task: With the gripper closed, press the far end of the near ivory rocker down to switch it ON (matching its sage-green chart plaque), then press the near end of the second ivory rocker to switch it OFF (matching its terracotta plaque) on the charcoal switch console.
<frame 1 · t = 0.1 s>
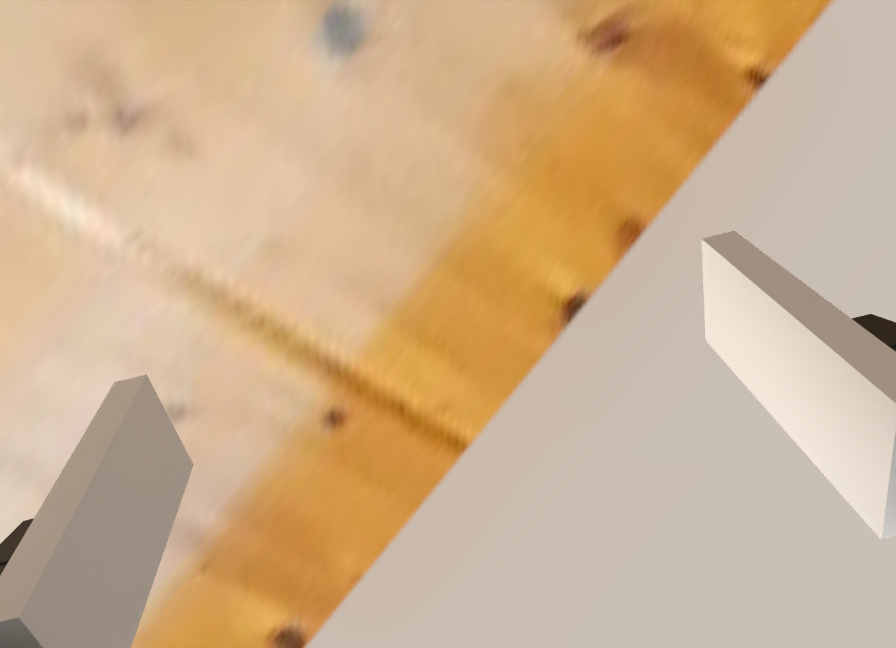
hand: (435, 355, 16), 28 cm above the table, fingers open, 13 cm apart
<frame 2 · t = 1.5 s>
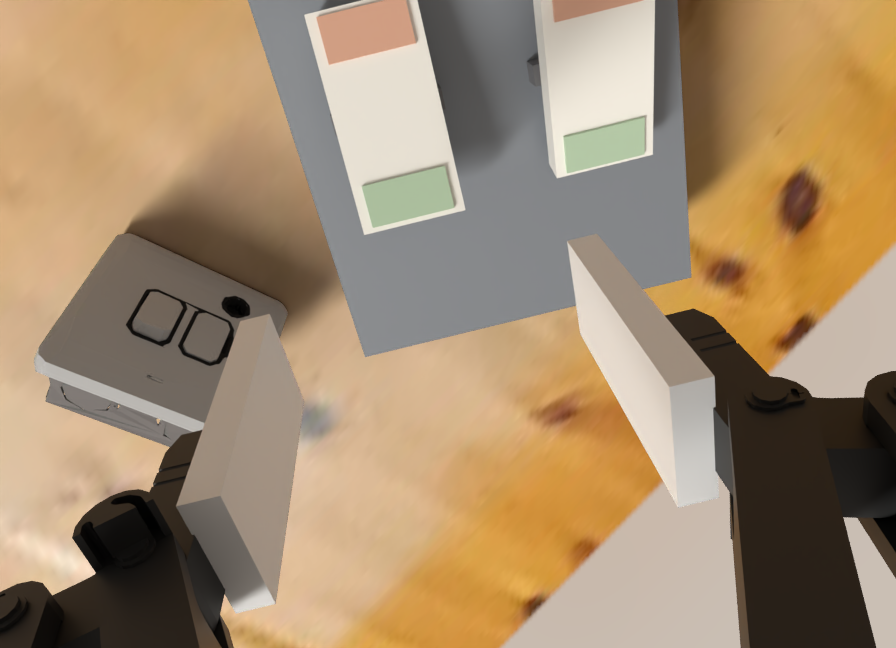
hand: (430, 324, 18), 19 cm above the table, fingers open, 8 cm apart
console: (465, 62, 33), on the table
rocker A: (388, 116, 26), point 8 cm above the table, hinge at -13.0°
rocker B: (596, 66, 26), point 8 cm above the table, hinge at 13.0°
electrical switch: (195, 307, 38), on the table
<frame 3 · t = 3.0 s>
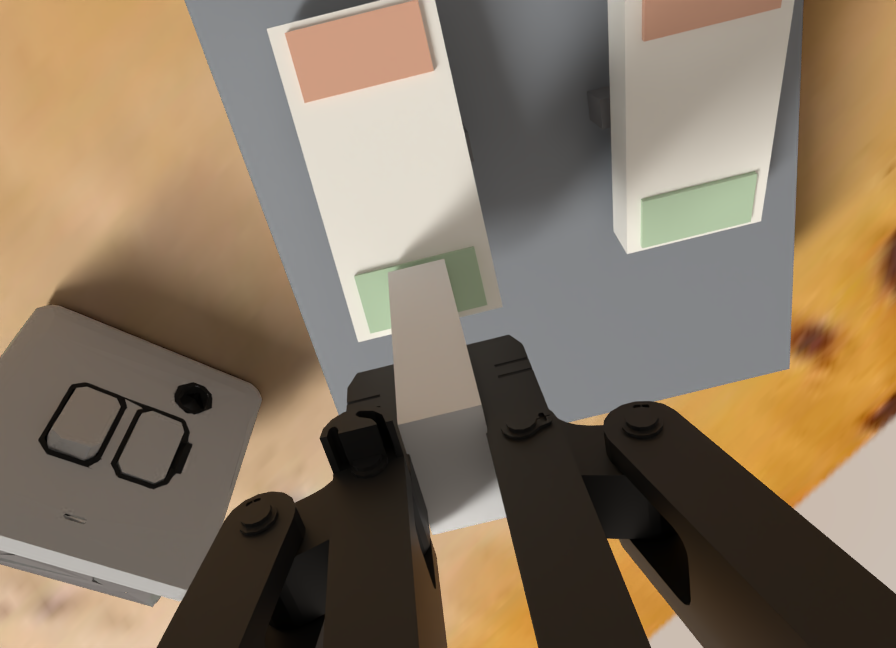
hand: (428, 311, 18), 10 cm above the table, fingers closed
console: (492, 84, 25), on the table
rocker A: (392, 175, 18), point 8 cm above the table, hinge at -12.3°, touching gripper
rocker B: (694, 102, 18), point 8 cm above the table, hinge at 13.0°
electrical switch: (145, 390, 30), on the table
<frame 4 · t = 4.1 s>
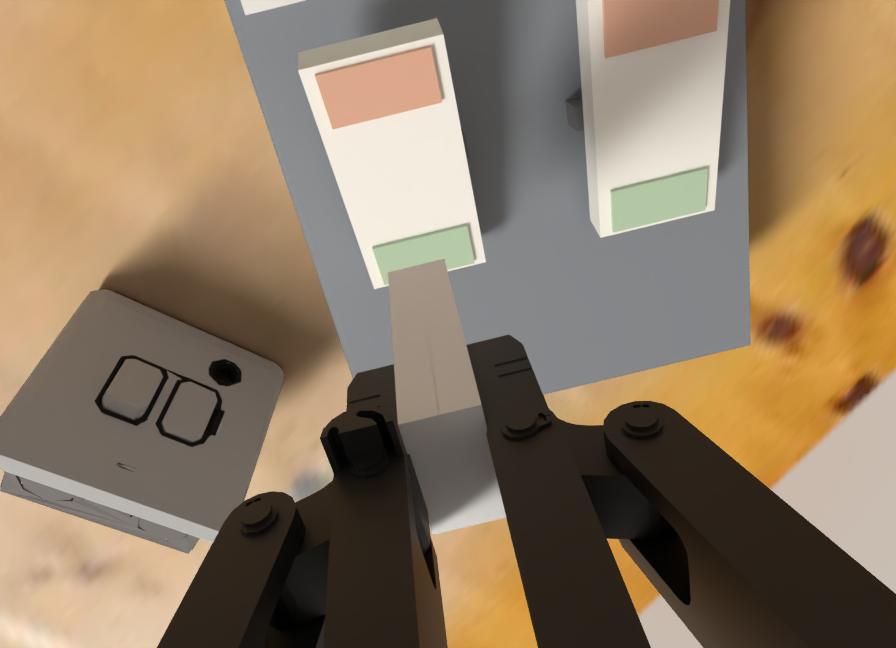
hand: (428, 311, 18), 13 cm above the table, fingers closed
console: (488, 96, 29), on the table
rocker A: (402, 169, 21), point 8 cm above the table, hinge at 16.4°
rocker B: (652, 108, 21), point 8 cm above the table, hinge at 13.0°
electrical switch: (181, 368, 33), on the table
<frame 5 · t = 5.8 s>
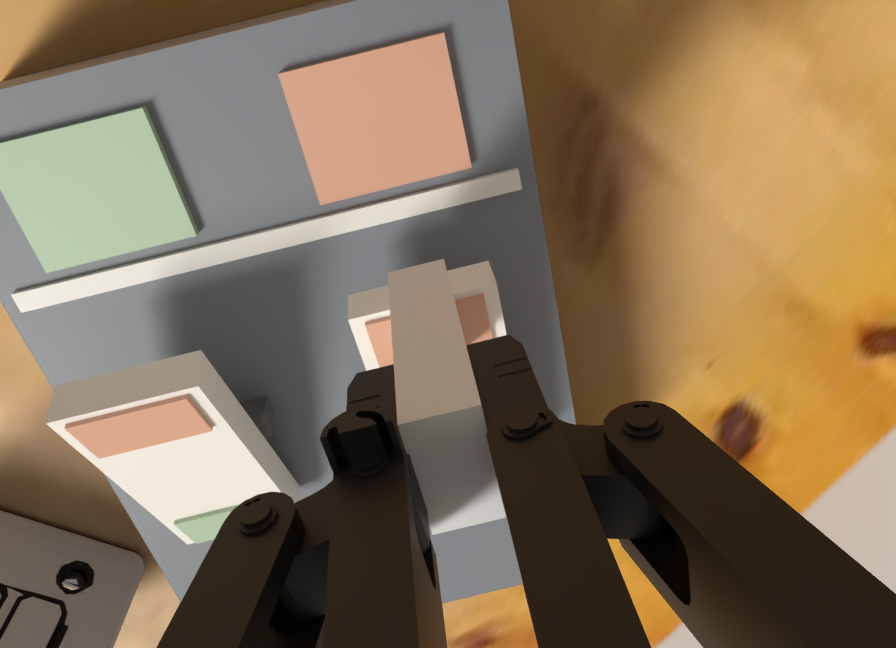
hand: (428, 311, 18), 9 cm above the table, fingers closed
console: (332, 311, 28), on the table
rocker A: (193, 461, 21), point 8 cm above the table, hinge at 21.3°, touching console
rocker B: (449, 398, 21), point 8 cm above the table, hinge at 7.6°, touching gripper
electrical switch: (40, 558, 33), on the table
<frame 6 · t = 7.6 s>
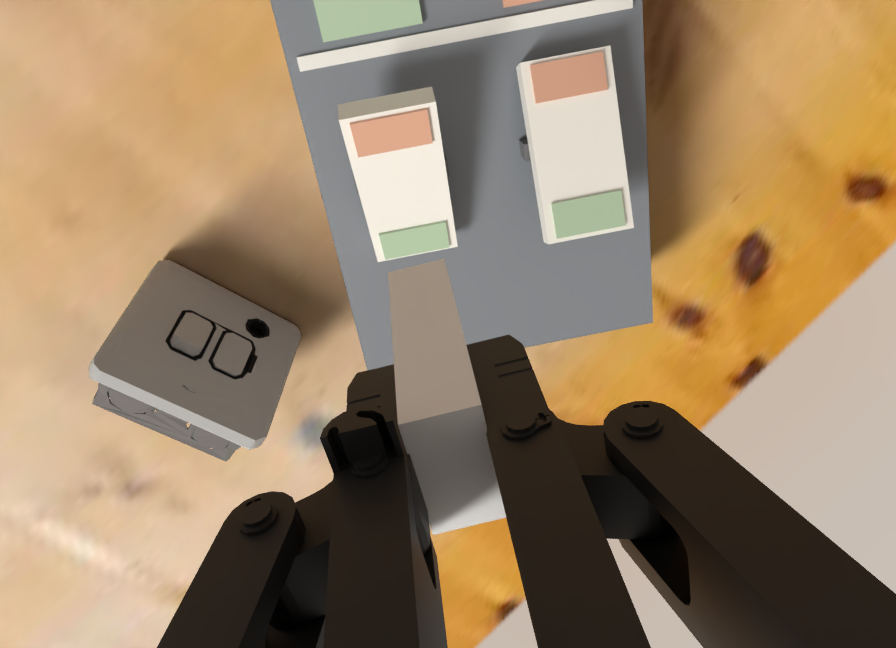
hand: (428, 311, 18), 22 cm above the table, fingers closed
console: (467, 129, 38), on the table
rocker A: (402, 182, 31), point 8 cm above the table, hinge at 21.0°
rocker B: (575, 148, 31), point 8 cm above the table, hinge at -15.5°
electrical switch: (220, 325, 43), on the table
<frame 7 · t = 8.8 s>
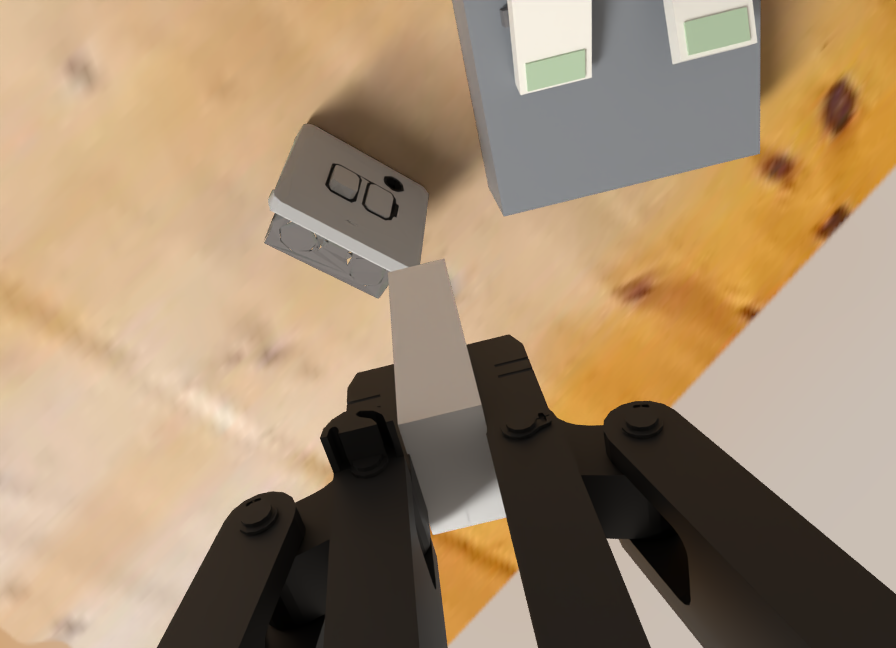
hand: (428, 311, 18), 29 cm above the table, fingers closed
rocker A: (549, 10, 35), point 8 cm above the table, hinge at 21.0°
electrical switch: (353, 190, 47), on the table
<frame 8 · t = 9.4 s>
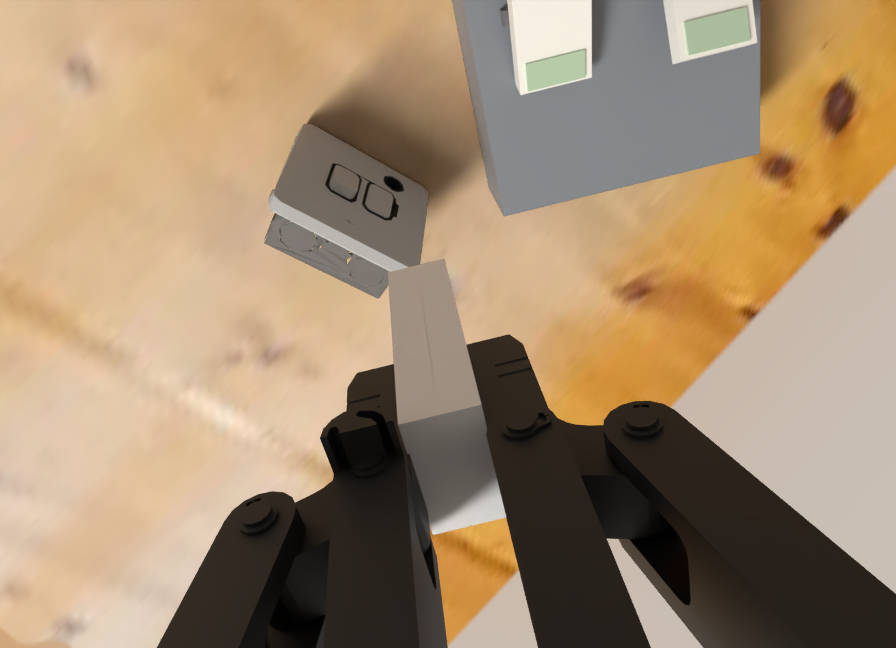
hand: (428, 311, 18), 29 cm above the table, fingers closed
rocker A: (549, 10, 35), point 8 cm above the table, hinge at 21.0°
electrical switch: (353, 190, 47), on the table
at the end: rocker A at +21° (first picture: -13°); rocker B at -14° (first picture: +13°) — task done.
